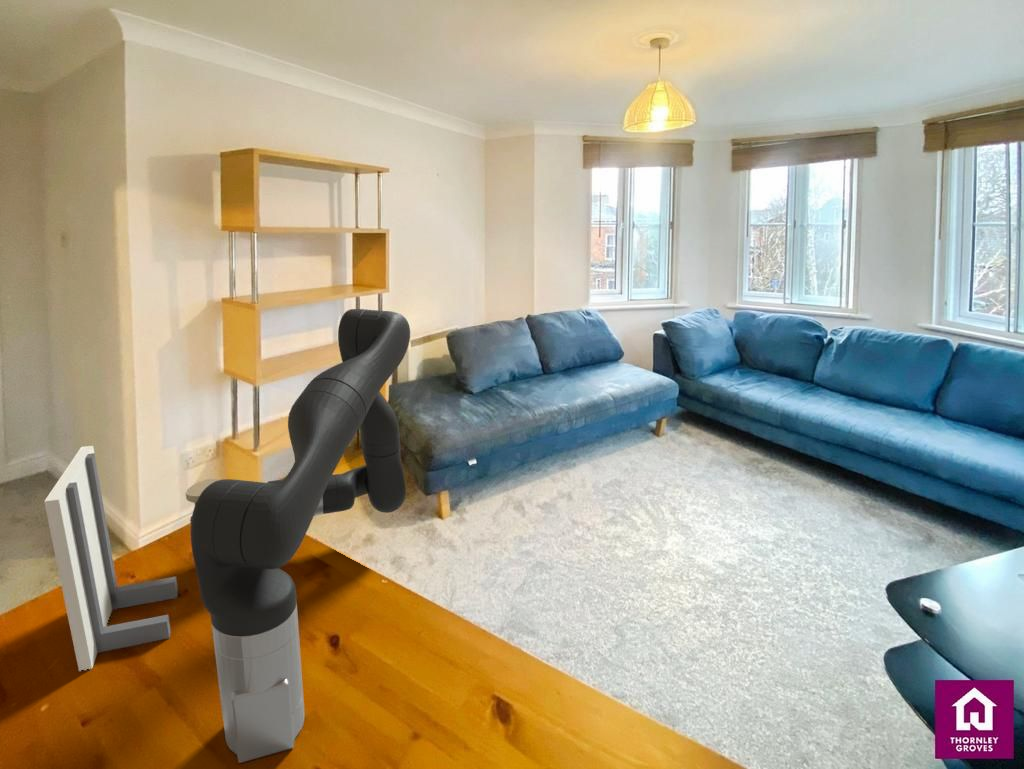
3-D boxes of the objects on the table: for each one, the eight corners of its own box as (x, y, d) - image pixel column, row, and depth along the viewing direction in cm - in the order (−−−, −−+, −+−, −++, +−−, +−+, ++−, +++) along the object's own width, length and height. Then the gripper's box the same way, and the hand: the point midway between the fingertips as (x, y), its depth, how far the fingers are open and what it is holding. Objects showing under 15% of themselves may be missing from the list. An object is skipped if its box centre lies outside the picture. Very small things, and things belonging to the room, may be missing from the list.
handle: (190, 571, 104) (179, 494, 99) (214, 551, 110) (204, 477, 106) (216, 574, 103) (205, 497, 99) (237, 554, 109) (228, 480, 105)
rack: (166, 653, 85) (141, 489, 78) (79, 671, 81) (44, 501, 74) (180, 580, 101) (160, 439, 94) (107, 593, 97) (81, 446, 90)
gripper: (291, 464, 114) (194, 475, 108) (296, 498, 102) (186, 512, 95) (294, 499, 116) (198, 512, 110) (298, 536, 104) (191, 553, 97)
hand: (193, 512), depth 103 cm, fingers open, 6 cm apart
